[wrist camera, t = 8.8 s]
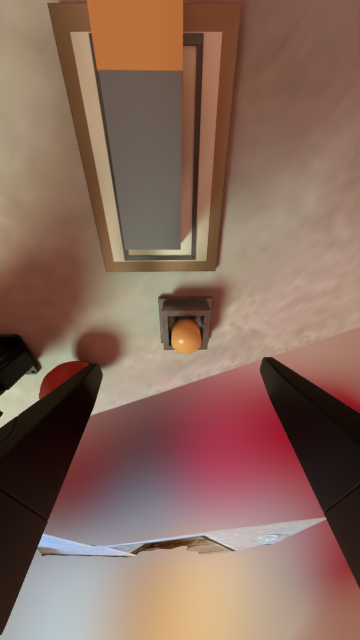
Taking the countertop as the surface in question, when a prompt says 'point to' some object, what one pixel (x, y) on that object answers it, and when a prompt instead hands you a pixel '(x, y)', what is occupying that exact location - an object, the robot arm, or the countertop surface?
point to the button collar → (181, 308)
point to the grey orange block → (143, 113)
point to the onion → (60, 376)
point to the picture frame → (196, 132)
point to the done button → (186, 335)
